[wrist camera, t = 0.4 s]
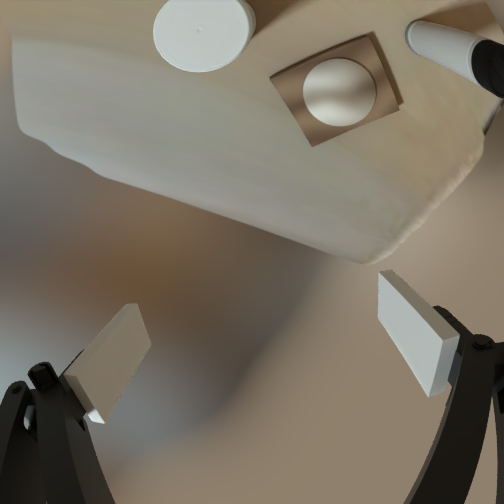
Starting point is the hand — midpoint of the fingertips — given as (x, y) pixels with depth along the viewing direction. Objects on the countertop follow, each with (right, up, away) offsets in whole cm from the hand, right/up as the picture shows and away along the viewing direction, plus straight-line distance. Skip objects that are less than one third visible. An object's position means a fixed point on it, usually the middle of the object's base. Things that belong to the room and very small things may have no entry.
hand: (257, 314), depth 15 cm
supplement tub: (-5, +34, +15) cm, 38 cm away
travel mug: (+25, +35, +13) cm, 45 cm away
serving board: (+12, +27, +22) cm, 37 cm away
